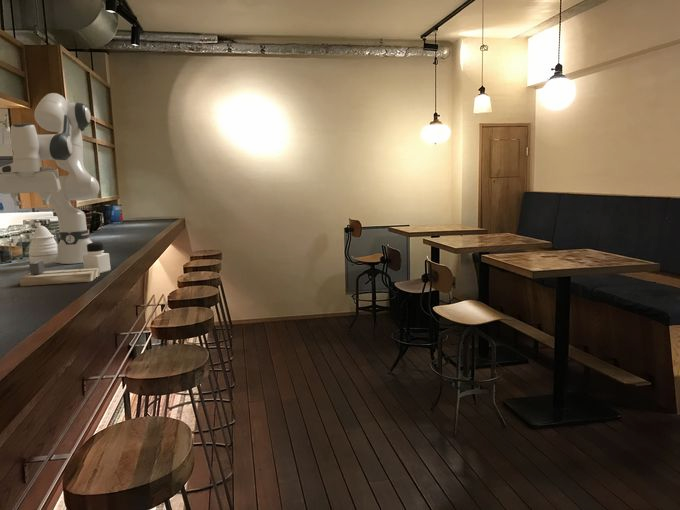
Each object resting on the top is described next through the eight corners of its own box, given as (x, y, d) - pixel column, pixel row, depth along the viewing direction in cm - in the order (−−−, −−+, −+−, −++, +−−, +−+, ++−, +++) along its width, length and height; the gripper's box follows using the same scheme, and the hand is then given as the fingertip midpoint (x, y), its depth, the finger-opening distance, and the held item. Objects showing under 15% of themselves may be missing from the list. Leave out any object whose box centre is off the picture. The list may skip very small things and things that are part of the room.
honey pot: (23, 263, 234) (17, 224, 231) (46, 258, 246) (41, 221, 243) (45, 264, 230) (39, 224, 227) (67, 259, 242) (62, 221, 239)
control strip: (34, 279, 197) (33, 271, 196) (100, 275, 201) (99, 267, 200) (20, 286, 185) (19, 277, 184) (90, 281, 189) (89, 273, 188)
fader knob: (36, 271, 193) (34, 261, 192) (44, 271, 194) (43, 260, 193) (30, 274, 188) (29, 263, 187) (39, 273, 189) (38, 263, 188)
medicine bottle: (111, 270, 210) (108, 241, 208) (98, 273, 204) (95, 244, 201) (96, 269, 212) (93, 241, 210) (84, 273, 205) (80, 243, 203)
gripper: (61, 167, 193) (65, 203, 195) (2, 169, 189) (7, 206, 191) (54, 166, 187) (59, 204, 188) (-7, 168, 183) (-2, 206, 185)
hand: (32, 205), depth 190 cm, fingers open, 8 cm apart
